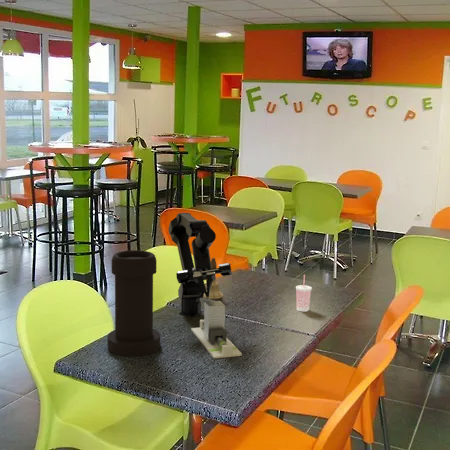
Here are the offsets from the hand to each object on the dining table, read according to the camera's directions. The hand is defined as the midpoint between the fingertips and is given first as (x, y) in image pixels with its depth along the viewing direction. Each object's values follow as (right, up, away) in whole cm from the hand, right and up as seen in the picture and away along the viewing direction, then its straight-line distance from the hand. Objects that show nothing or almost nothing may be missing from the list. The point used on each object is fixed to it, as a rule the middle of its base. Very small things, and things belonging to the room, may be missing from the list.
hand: (207, 297), depth 206 cm
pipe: (-23, -14, -12) cm, 30 cm away
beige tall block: (+2, -14, -5) cm, 15 cm away
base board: (+3, -14, -7) cm, 16 cm away
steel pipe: (+3, -13, -7) cm, 15 cm away
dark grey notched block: (+3, -14, -9) cm, 17 cm away
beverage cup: (+36, -8, +30) cm, 47 cm away
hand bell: (+1, -5, +45) cm, 45 cm away
